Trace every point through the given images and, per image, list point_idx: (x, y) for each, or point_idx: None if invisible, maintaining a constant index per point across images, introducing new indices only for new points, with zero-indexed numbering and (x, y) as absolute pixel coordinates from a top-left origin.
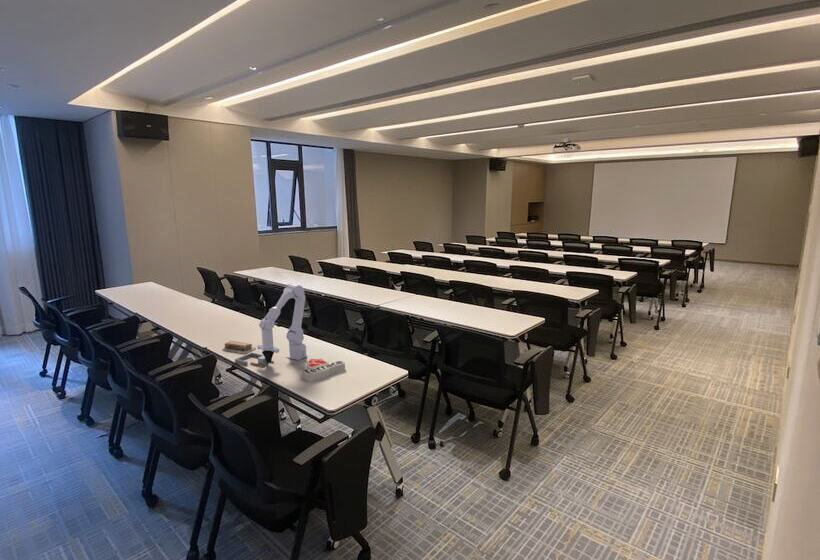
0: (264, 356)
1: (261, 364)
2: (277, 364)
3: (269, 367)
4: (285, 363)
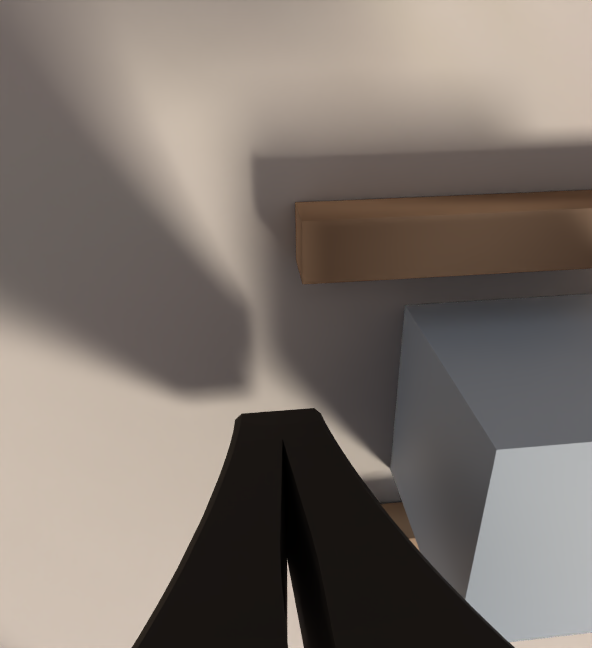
0: (455, 601)
1: (443, 269)
2: (123, 523)
3: (119, 301)
4: (20, 628)
